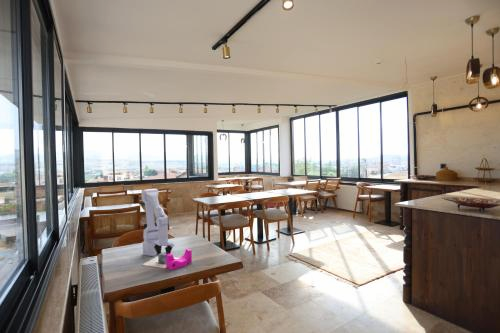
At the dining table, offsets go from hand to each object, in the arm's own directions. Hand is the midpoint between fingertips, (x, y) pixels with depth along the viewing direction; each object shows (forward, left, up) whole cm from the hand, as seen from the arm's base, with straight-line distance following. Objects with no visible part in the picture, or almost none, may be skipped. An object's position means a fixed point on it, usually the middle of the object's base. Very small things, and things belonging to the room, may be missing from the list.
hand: (163, 257), depth 173 cm
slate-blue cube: (0, 0, -3) cm, 3 cm away
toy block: (+13, -1, -3) cm, 13 cm away
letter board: (-1, 0, -3) cm, 3 cm away
